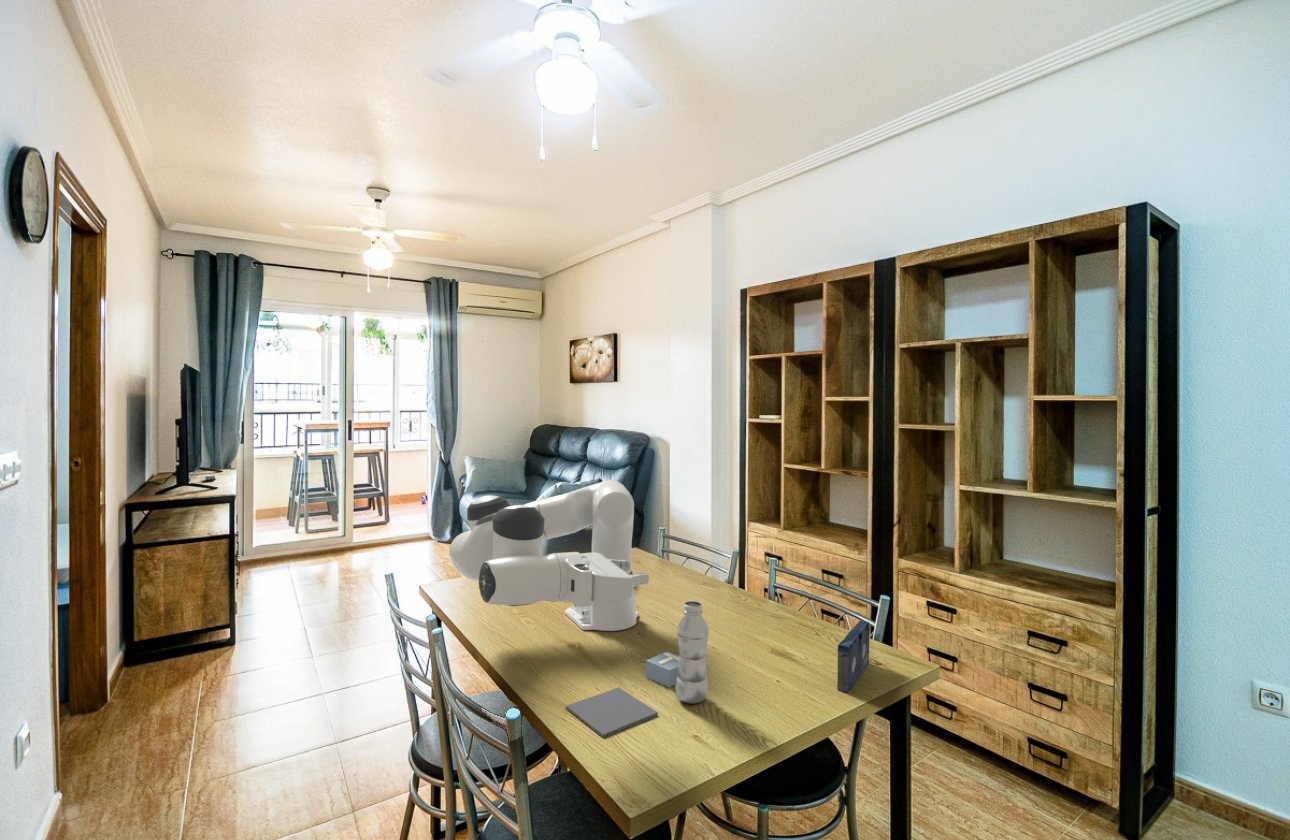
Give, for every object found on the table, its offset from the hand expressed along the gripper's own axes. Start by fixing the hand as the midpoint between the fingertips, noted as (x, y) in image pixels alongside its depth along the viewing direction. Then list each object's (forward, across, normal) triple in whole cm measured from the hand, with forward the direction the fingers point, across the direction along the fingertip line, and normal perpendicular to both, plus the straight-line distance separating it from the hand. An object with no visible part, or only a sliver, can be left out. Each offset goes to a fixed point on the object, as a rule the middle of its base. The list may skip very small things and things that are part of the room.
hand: (637, 571), depth 118 cm
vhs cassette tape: (+53, +4, -26) cm, 59 cm away
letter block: (+13, -11, -28) cm, 33 cm away
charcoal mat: (-4, -1, -28) cm, 28 cm away
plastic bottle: (+13, 0, -28) cm, 31 cm away
